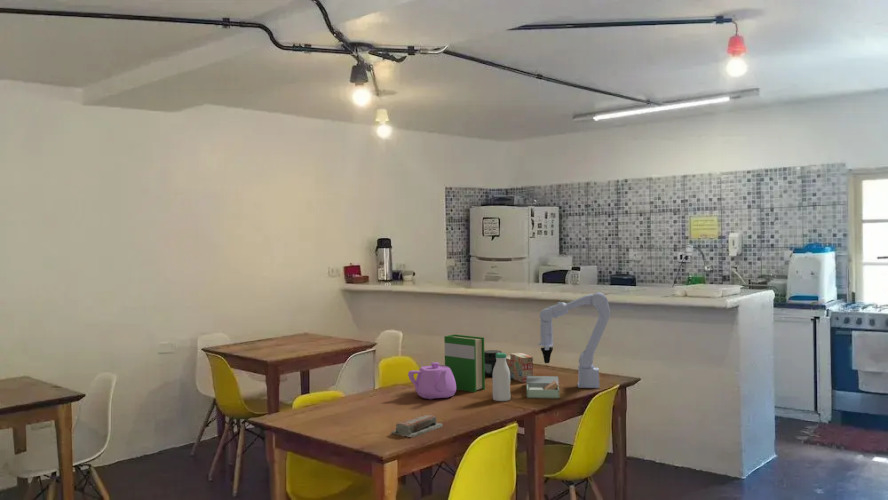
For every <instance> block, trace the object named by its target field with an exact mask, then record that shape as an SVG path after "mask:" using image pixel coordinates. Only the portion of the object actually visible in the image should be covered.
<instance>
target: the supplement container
mask: <svg viewBox="0 0 888 500" xmlns="http://www.w3.org/2000/svg"><path fill="white" fill-rule="evenodd" d="M496 353H503V352H502V351H501V350H498V349H487V350H484V361H485V377H488V378H491V377H492V378H493V369H494V366H495V364H496Z"/></svg>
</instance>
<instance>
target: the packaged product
mask: <svg viewBox="0 0 888 500" xmlns="http://www.w3.org/2000/svg"><path fill="white" fill-rule="evenodd" d="M395 425H396V428H395V430H393V431H391V432H390V433H391V434H392V433H393V434H392V435H395V434H397V435H396V436H399V435H402V436H401V437H404V436H407V437H406V438H408V437H414V438H416V437H419V436H422V435H424V434H423V433H425V434H427V433H426V432H428V433H430V432H429V431H431V430H434V429H436V430H438V429H437V428H439V429H441V428H443V423H440V422H439V423H438V422H437V416H435V415H433V414H425V415H420V416H417V417H413V418H411V419H407V420H404V421H403V420H402V421H400V422H398V423H396V424H395ZM440 427H441V428H440ZM434 431H435V430H434ZM431 432H432V431H431ZM421 434H422V435H421ZM418 435H419V436H418ZM415 436H416V437H415Z"/></svg>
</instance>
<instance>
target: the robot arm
mask: <svg viewBox="0 0 888 500" xmlns="http://www.w3.org/2000/svg"><path fill="white" fill-rule="evenodd" d="M608 300H609V299H608V298H607V297H606V295H605V294H604V293H603V292H601V291H597V292H595V293H590V294H587V295H584V296H582V297H579V298H576V299H574V300H571V301H569V302H567V303H566V302H564V301H562V302H561V301H558V302H557V303H556V304H554V305H552V306H550V305H548V306H547V307H546V308H543V309H542V310H541V311H540V312H539V318H540V324H539V325H540V327H539V328H540V329H539V331H540V332H539V333H540V342H538V343H537V345H538V346H541V347H540V350H541V353H542V357H543V362H544V364H550V360H551V355H552V352H553V350H554V347H553V346H554V339H553V334H554V330H553V327H554V326H553V318H554V319H556V318H559V317H562V316H564V315H566V314H568V313H569V310H572V309H575V308H578V307H580V306H583V305H587V306H591V305H593V306H594V308H595V309H596V310H597V313H598V314H599V316H598V318H597V321H596V323H595V325H594V327H593V329H592V333H591V335H590V337H589V340H588V342H587V345H586V346H585V349H584V350H583V351H582V352H581V353H580V355H579V358H578V370H577V371H578V382H577V388H579V389H582V388H583V389H599V388H600V370H599V369H600V368H599V367H595V365H594V364H593V363H594V355H595V353H596V350H597V349H598V346H599V343H600V341H601V338H602V336H603V333H604V331H605V329H606V326H607V324H608V322H609V320H610V317H611V310H610V305H609V301H608Z"/></svg>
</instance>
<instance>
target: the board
mask: <svg viewBox="0 0 888 500" xmlns="http://www.w3.org/2000/svg"><path fill="white" fill-rule="evenodd" d="M555 380H556V381H557V383H558V385H559V386H560V380H559V376H551V375H548V376H547V375H542V376H540V375H539V376H538V375H537V376H536V375H533V376H527V382H525V383H526V387H527V384H528V389H529V388H543V390H545V388H544V387H545V386H547V385H548V384H550V383H552V382H553V381H555ZM554 390H557V388H555V389H554Z"/></svg>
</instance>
